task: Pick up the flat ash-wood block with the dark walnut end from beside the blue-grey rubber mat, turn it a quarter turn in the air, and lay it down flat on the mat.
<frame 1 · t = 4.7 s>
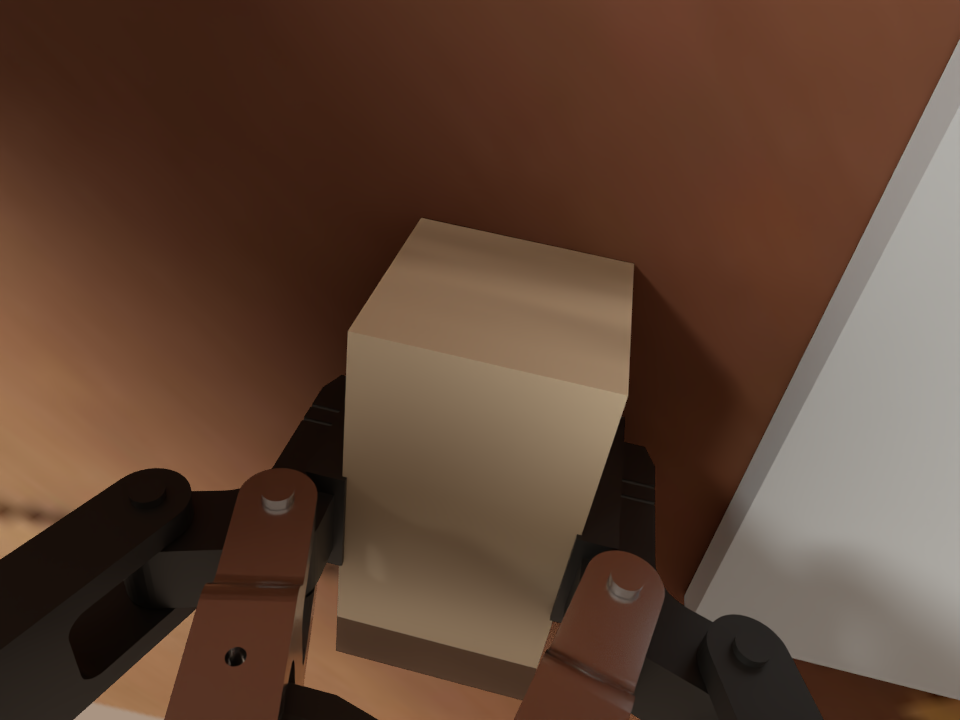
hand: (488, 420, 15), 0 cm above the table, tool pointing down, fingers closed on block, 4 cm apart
block: (493, 406, 16), on the table, touching gripper
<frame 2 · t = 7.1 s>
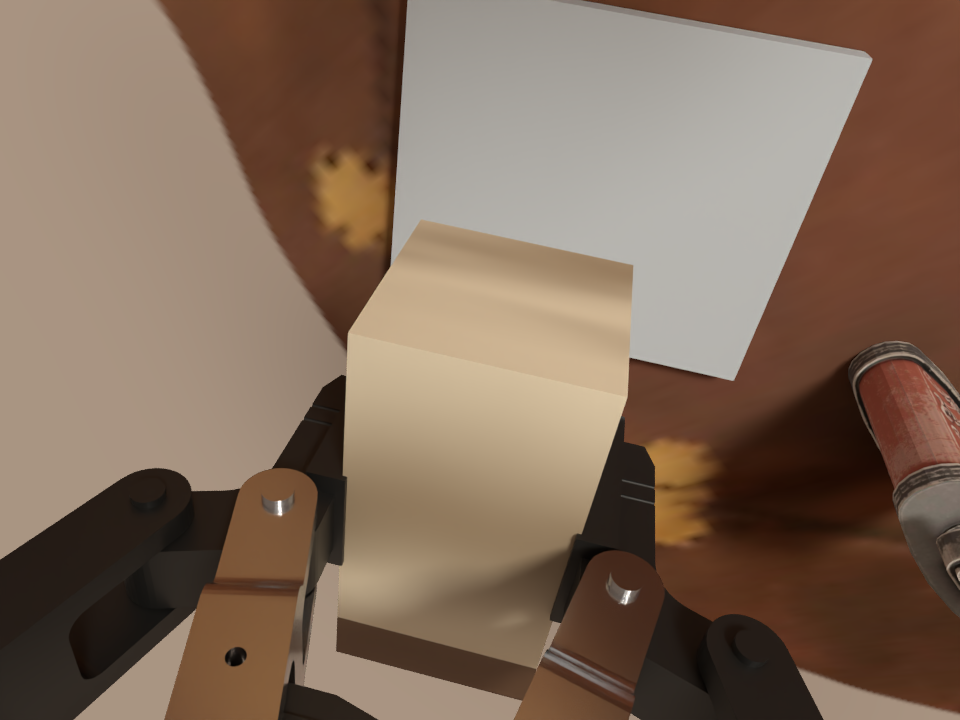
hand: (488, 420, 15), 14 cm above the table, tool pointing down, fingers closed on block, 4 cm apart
mat: (592, 190, 26), on the table
lighter: (915, 414, 29), on the table
block: (493, 407, 16), point 13 cm above the table, touching gripper
when the fingers open (3 cm above the table, at t = 9.8 s): block drops 1 cm, resting on mat.
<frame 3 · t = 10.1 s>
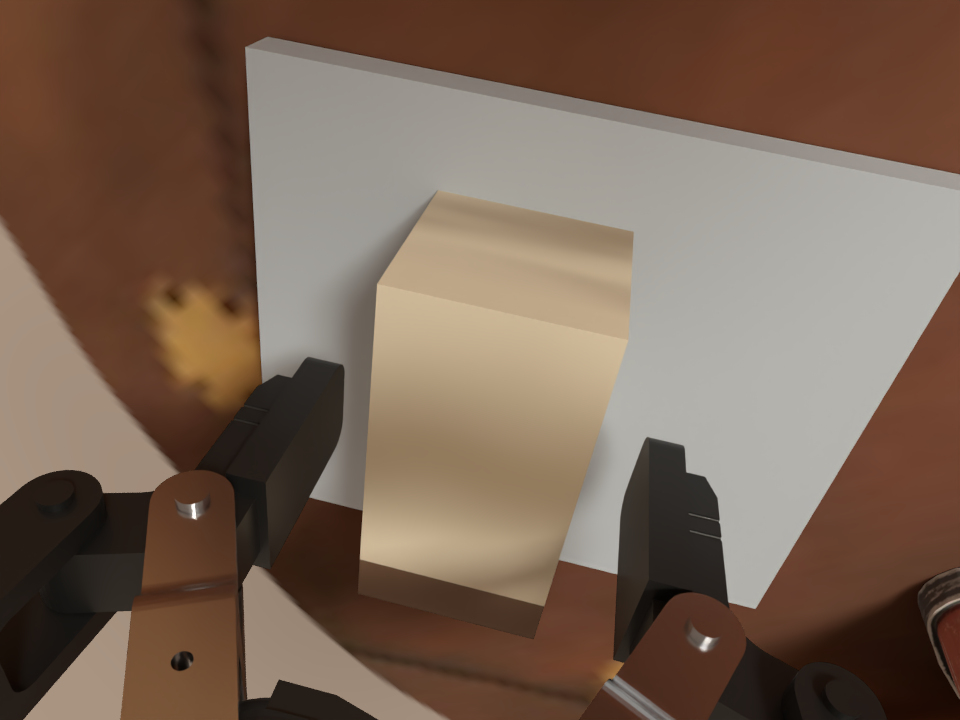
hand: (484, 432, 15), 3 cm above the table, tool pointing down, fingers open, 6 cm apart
mat: (550, 354, 17), on the table
block: (503, 369, 17), point 1 cm above the table, touching mat
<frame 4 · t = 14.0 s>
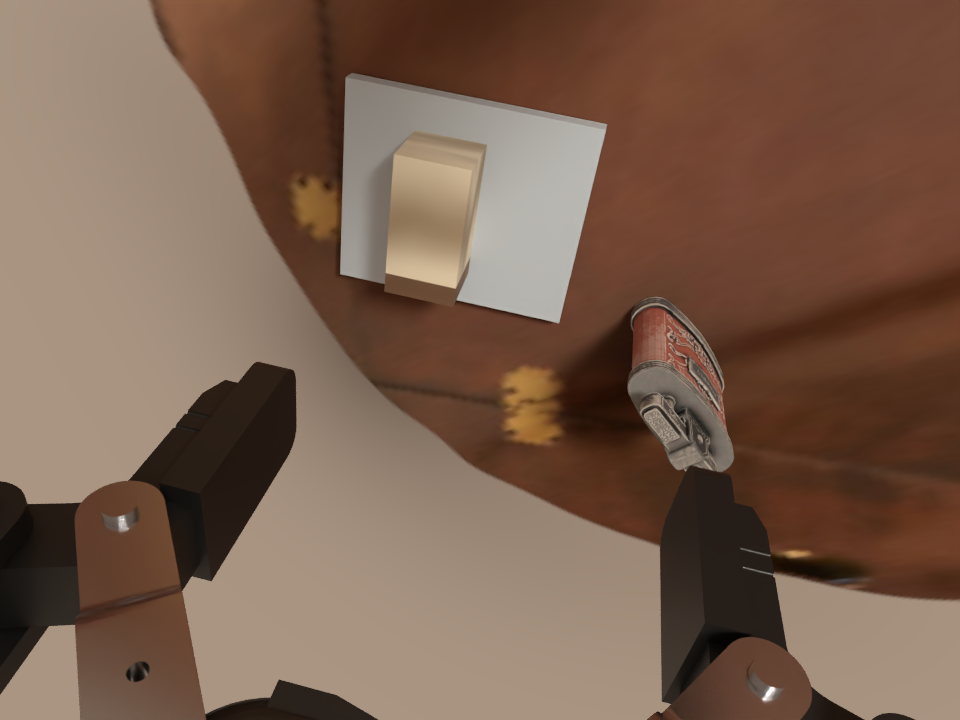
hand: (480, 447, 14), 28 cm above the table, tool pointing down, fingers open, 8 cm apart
mat: (463, 202, 42), on the table
lighter: (677, 346, 45), on the table
block: (442, 205, 41), point 1 cm above the table, touching mat
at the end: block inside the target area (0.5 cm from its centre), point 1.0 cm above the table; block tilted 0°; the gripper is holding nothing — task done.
